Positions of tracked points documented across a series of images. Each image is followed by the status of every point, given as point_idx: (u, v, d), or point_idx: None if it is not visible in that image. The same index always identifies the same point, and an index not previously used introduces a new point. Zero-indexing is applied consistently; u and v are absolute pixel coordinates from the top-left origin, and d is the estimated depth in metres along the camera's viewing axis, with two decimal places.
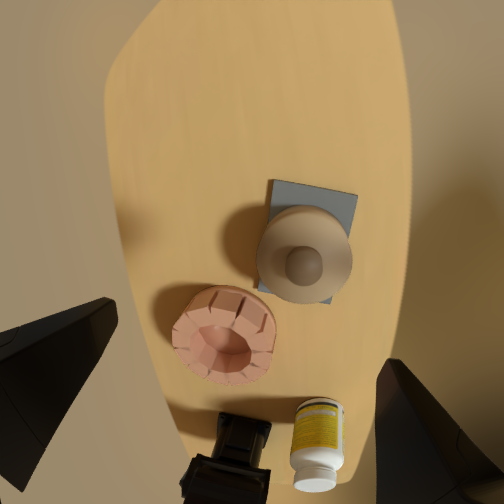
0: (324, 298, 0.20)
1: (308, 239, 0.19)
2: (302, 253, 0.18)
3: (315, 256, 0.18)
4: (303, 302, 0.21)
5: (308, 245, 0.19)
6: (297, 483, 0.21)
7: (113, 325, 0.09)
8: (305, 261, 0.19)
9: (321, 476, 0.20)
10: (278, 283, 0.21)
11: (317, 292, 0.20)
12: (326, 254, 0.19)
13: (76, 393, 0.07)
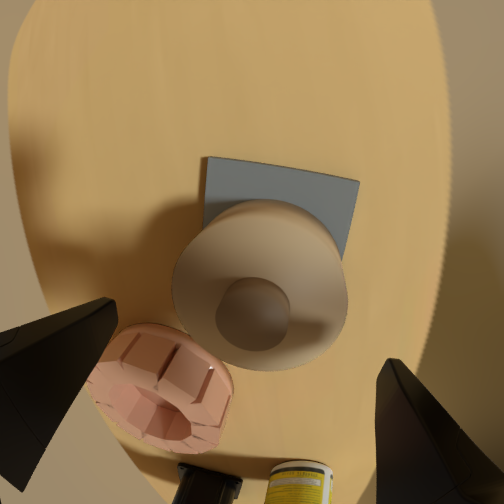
0: (296, 364, 0.11)
1: (261, 265, 0.10)
2: (245, 294, 0.09)
3: (272, 300, 0.09)
4: (260, 368, 0.12)
5: (261, 277, 0.10)
6: None
7: (113, 325, 0.09)
8: (252, 309, 0.09)
9: None
10: (214, 338, 0.12)
11: (283, 355, 0.11)
12: (297, 293, 0.10)
13: (76, 394, 0.07)
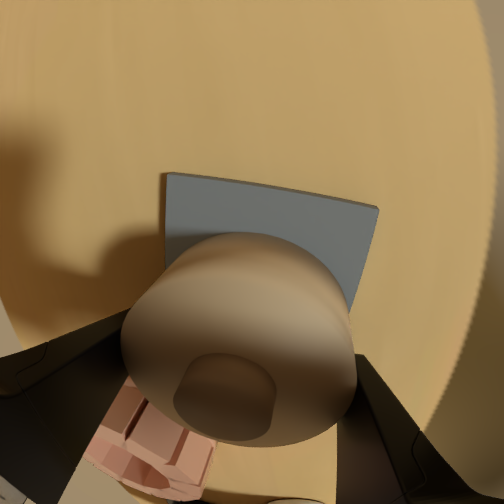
0: (285, 443, 0.08)
1: (234, 340, 0.07)
2: (209, 385, 0.06)
3: (247, 394, 0.06)
4: (240, 444, 0.08)
5: (235, 353, 0.07)
6: None
7: None
8: (221, 401, 0.06)
9: None
10: None
11: (269, 434, 0.08)
12: (286, 374, 0.07)
13: (107, 409, 0.07)
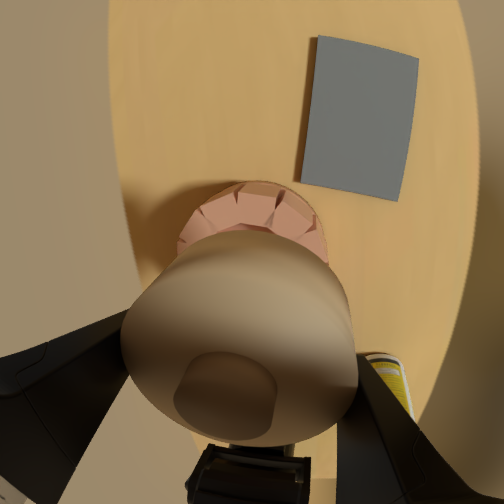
0: (286, 442, 0.08)
1: (235, 338, 0.07)
2: (210, 384, 0.06)
3: (248, 393, 0.06)
4: (241, 443, 0.08)
5: (235, 352, 0.07)
6: None
7: None
8: (222, 400, 0.06)
9: None
10: None
11: (269, 433, 0.08)
12: (287, 372, 0.07)
13: (107, 409, 0.07)
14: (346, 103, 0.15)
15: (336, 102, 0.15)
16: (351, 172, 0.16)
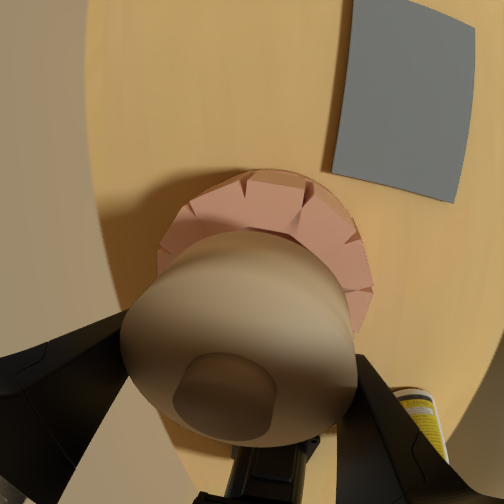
0: (285, 443, 0.08)
1: (234, 339, 0.07)
2: (209, 385, 0.06)
3: (247, 394, 0.06)
4: (240, 444, 0.08)
5: (235, 353, 0.07)
6: None
7: None
8: (221, 401, 0.06)
9: None
10: None
11: (269, 434, 0.08)
12: (286, 373, 0.07)
13: (107, 409, 0.07)
14: (394, 70, 0.10)
15: (381, 68, 0.10)
16: (399, 162, 0.11)
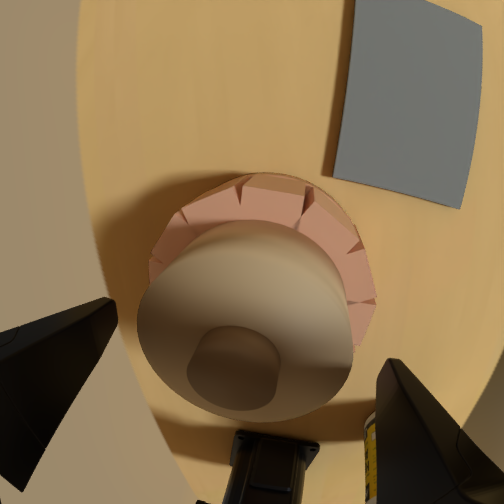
0: (288, 417, 0.09)
1: (243, 312, 0.08)
2: (221, 353, 0.07)
3: (255, 360, 0.07)
4: (246, 419, 0.09)
5: (243, 326, 0.08)
6: None
7: (113, 325, 0.09)
8: (231, 369, 0.07)
9: None
10: (191, 386, 0.09)
11: (273, 408, 0.09)
12: (290, 345, 0.08)
13: (76, 393, 0.07)
14: (398, 68, 0.09)
15: (385, 66, 0.09)
16: (404, 165, 0.11)
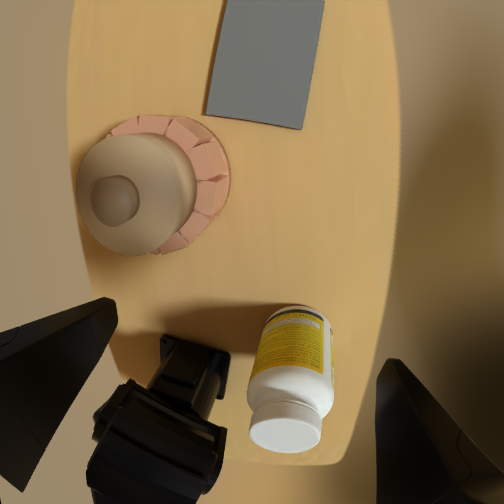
0: (151, 248, 0.15)
1: (121, 166, 0.13)
2: (104, 181, 0.13)
3: (118, 184, 0.13)
4: (129, 253, 0.15)
5: (121, 174, 0.14)
6: (254, 429, 0.14)
7: (113, 325, 0.09)
8: (109, 191, 0.13)
9: (295, 415, 0.14)
10: (99, 227, 0.15)
11: (141, 239, 0.15)
12: (142, 184, 0.14)
13: (75, 394, 0.07)
14: (250, 42, 0.15)
15: (240, 42, 0.15)
16: (253, 102, 0.17)
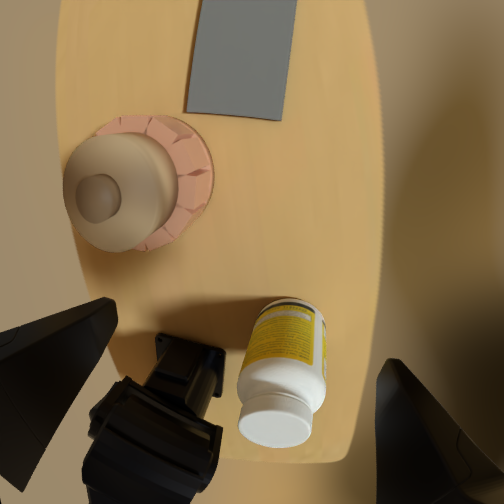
0: (134, 243, 0.15)
1: (102, 165, 0.14)
2: (87, 179, 0.13)
3: (99, 181, 0.13)
4: (114, 250, 0.15)
5: (103, 173, 0.14)
6: (243, 423, 0.14)
7: (113, 325, 0.09)
8: (91, 189, 0.13)
9: (282, 407, 0.13)
10: (86, 225, 0.15)
11: (124, 235, 0.15)
12: (123, 181, 0.14)
13: (76, 394, 0.07)
14: (225, 39, 0.15)
15: (216, 40, 0.15)
16: (231, 97, 0.17)
